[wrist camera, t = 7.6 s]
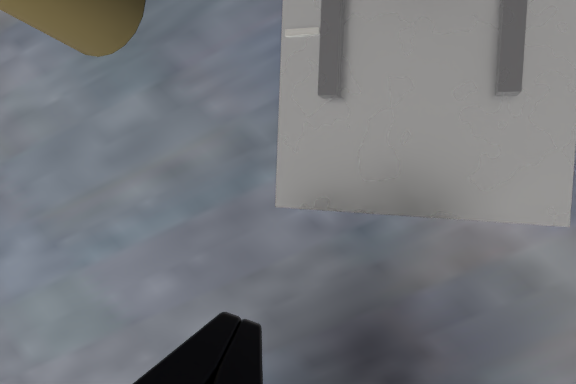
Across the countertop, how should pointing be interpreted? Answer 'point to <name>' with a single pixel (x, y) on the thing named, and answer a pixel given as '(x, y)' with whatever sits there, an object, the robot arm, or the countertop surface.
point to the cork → (81, 21)
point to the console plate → (429, 108)
